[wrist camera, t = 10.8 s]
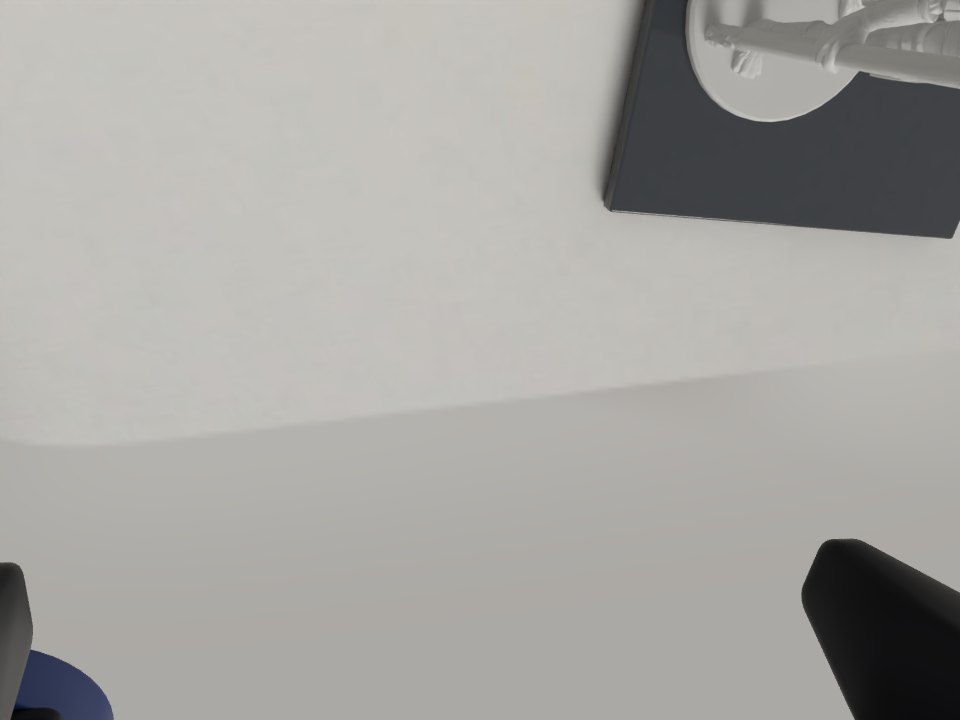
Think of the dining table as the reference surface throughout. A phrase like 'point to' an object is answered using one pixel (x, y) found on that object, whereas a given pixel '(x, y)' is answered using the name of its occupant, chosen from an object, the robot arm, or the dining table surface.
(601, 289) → the dining table surface
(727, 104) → the figurine
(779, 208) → the slate tile
